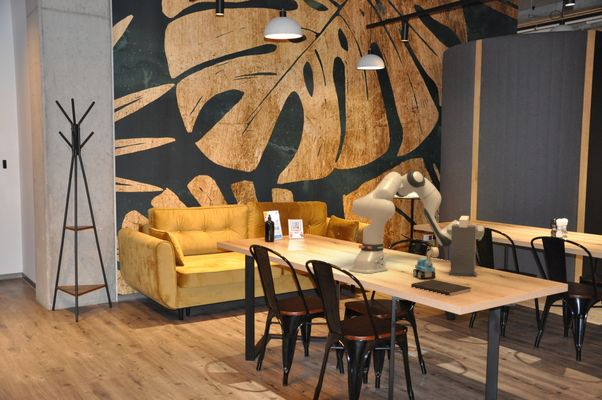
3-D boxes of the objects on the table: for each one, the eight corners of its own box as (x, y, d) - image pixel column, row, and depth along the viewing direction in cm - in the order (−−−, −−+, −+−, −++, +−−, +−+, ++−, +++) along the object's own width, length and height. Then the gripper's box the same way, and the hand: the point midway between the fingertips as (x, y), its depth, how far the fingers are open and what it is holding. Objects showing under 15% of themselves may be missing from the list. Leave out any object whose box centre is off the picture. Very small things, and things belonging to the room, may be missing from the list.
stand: (476, 277, 315) (477, 227, 313) (448, 275, 319) (449, 226, 317) (476, 273, 324) (478, 225, 322) (449, 271, 329) (450, 224, 327)
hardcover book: (433, 284, 301) (433, 279, 300) (471, 292, 282) (471, 287, 282) (410, 288, 291) (411, 283, 291) (449, 297, 273) (449, 292, 273)
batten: (467, 227, 312) (467, 219, 312) (459, 227, 313) (459, 219, 313) (468, 223, 331) (469, 216, 331) (461, 223, 332) (461, 215, 332)
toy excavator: (427, 282, 301) (427, 248, 300) (411, 276, 317) (412, 243, 316) (442, 281, 304) (443, 247, 302) (426, 275, 320) (427, 242, 318)
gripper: (447, 228, 349) (446, 218, 337) (484, 230, 343) (484, 219, 331) (446, 238, 347) (445, 228, 335) (484, 240, 340) (483, 230, 329)
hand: (465, 224), depth 333 cm, fingers open, 8 cm apart
